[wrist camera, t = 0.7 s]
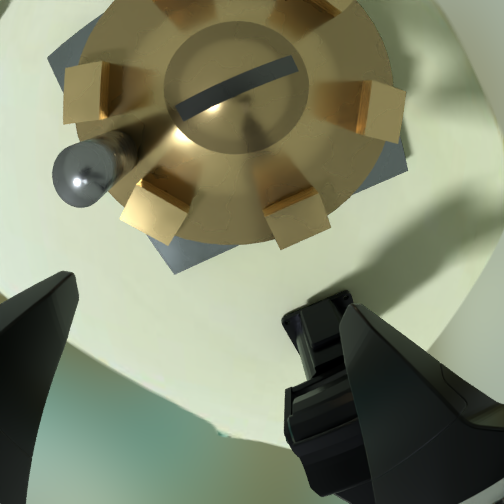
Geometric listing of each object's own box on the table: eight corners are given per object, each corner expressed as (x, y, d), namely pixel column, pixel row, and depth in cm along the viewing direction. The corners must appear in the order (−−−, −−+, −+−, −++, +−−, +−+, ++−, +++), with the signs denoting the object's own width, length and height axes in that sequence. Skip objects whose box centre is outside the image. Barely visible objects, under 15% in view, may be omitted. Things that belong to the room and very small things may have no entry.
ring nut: (301, -53, 9) (339, -108, 3) (396, 163, 16) (467, 201, 10) (60, 57, 11) (-14, 52, 5) (178, 260, 19) (161, 337, 13)
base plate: (397, 165, 18) (409, 171, 17) (177, 263, 21) (174, 276, 19) (300, -53, 10) (307, -63, 8) (58, 59, 12) (45, 57, 11)
